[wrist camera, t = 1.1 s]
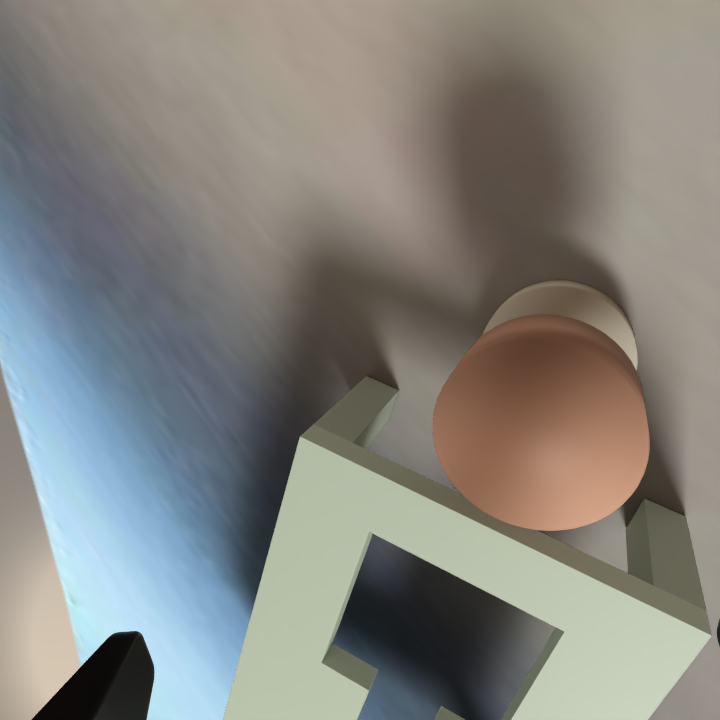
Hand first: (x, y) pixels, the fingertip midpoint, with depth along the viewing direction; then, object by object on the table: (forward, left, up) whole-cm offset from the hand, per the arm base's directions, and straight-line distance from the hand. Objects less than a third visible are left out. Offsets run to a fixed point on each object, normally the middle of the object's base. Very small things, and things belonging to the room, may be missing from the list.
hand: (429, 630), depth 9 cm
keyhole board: (-1, +13, -14) cm, 19 cm away
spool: (-1, 0, -14) cm, 14 cm away
